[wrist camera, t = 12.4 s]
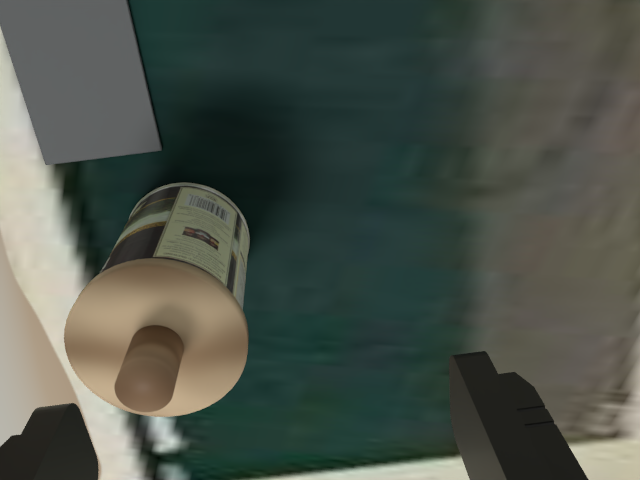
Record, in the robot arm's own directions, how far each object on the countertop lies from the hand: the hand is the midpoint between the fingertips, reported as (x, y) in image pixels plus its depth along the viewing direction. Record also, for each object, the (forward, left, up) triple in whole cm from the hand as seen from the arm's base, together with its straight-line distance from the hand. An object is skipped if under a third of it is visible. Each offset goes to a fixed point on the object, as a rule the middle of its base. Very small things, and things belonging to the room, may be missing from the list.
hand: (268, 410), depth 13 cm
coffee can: (+12, -9, -36) cm, 39 cm away
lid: (+12, -9, -22) cm, 27 cm away
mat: (-3, -14, -36) cm, 39 cm away
